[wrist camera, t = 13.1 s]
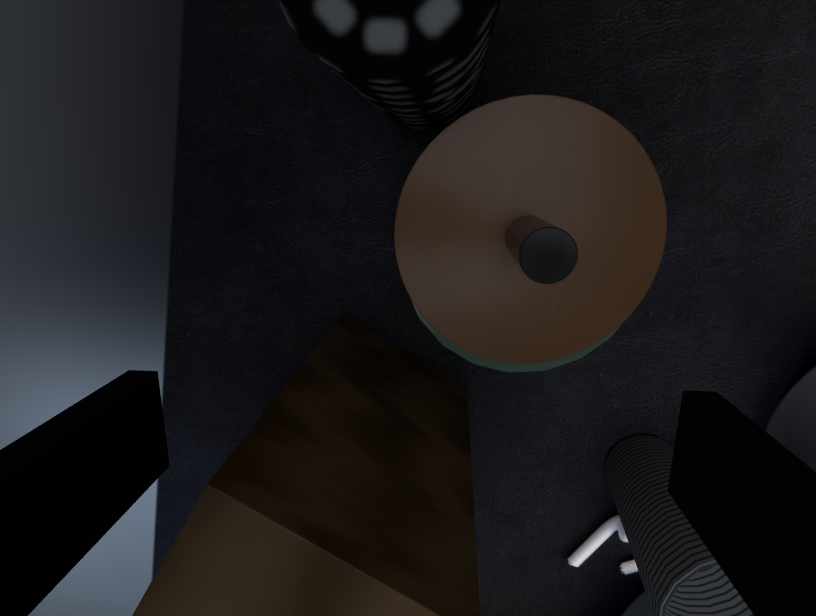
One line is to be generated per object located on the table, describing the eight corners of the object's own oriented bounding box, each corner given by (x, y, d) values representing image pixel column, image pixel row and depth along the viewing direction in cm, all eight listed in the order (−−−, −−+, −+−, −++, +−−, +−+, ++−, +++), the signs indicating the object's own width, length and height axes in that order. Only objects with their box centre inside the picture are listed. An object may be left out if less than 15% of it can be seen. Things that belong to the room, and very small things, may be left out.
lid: (345, 263, 31) (313, 290, 24) (503, 34, 28) (521, -17, 20) (544, 406, 33) (570, 472, 25) (722, 206, 29) (814, 217, 21)
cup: (579, 430, 43) (648, 569, 28) (685, 410, 41) (816, 543, 26) (598, 516, 44) (671, 690, 29) (699, 499, 43) (830, 671, 28)
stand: (278, 423, 45) (91, 686, 22) (343, 313, 42) (206, 483, 19) (394, 491, 46) (332, 815, 22) (467, 387, 42) (482, 640, 19)
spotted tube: (485, 6, 35) (523, -198, 16) (476, 132, 37) (499, 87, 18) (367, 4, 36) (265, -195, 17) (364, 128, 38) (272, 80, 19)
